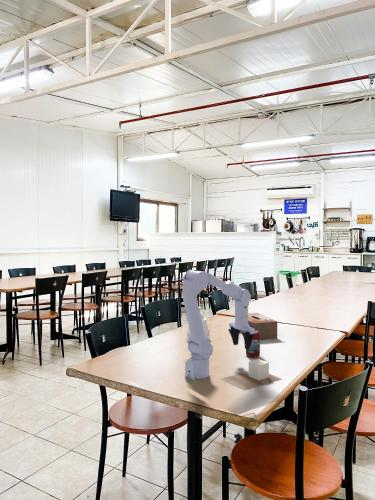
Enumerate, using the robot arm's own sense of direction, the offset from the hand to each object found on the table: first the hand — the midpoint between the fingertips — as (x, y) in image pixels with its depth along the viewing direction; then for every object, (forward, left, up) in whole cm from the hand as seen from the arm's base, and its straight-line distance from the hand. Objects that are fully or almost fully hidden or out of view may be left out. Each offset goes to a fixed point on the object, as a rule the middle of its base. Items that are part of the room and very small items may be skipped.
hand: (241, 346), depth 170 cm
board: (-8, -15, -9) cm, 19 cm away
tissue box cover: (+46, +40, -10) cm, 62 cm away
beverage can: (+16, +10, -10) cm, 21 cm away
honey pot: (+11, +49, -10) cm, 51 cm away
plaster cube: (-4, -15, -8) cm, 17 cm away
